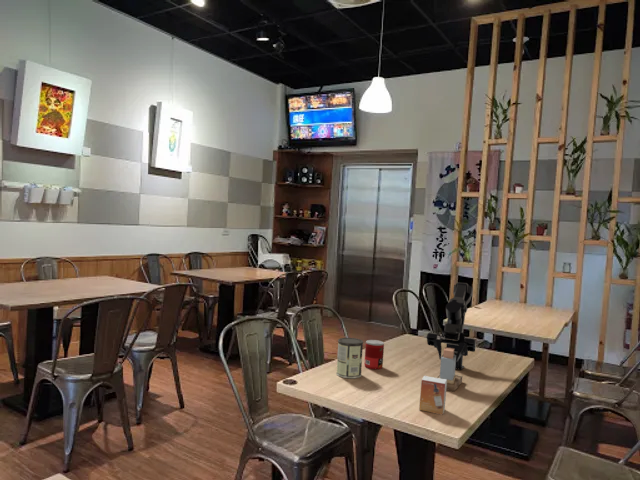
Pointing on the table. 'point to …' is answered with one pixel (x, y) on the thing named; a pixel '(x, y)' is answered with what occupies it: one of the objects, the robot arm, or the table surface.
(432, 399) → the small box
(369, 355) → the canned food
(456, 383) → the dock
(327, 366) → the table surface
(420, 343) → the table surface
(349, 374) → the coffee can
